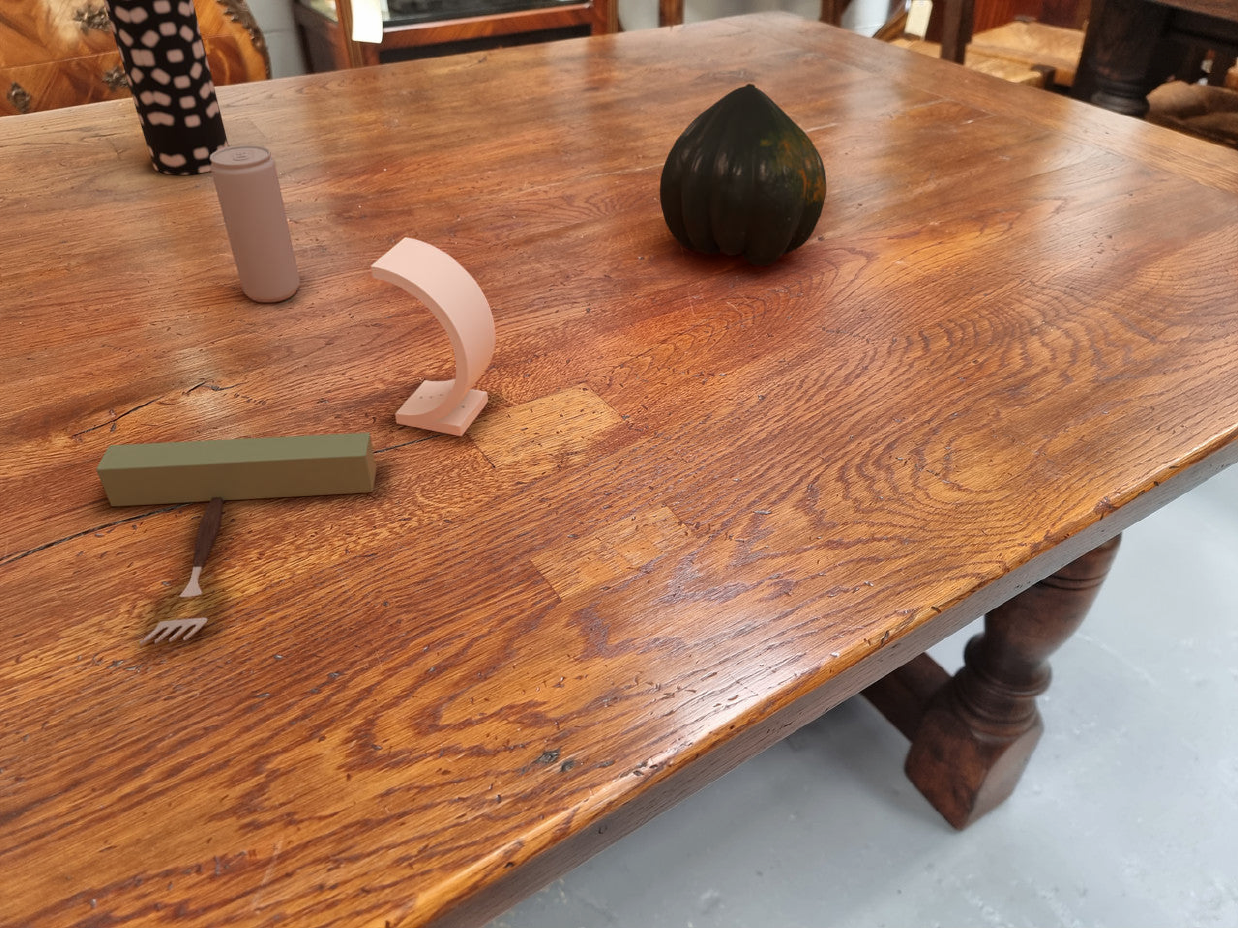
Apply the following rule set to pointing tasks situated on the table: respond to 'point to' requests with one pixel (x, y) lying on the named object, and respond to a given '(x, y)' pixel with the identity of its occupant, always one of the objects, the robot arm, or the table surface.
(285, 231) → the beverage can
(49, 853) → the table surface
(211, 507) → the fork
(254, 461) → the rail
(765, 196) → the squash
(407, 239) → the headphone stand
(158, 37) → the spotted tube
